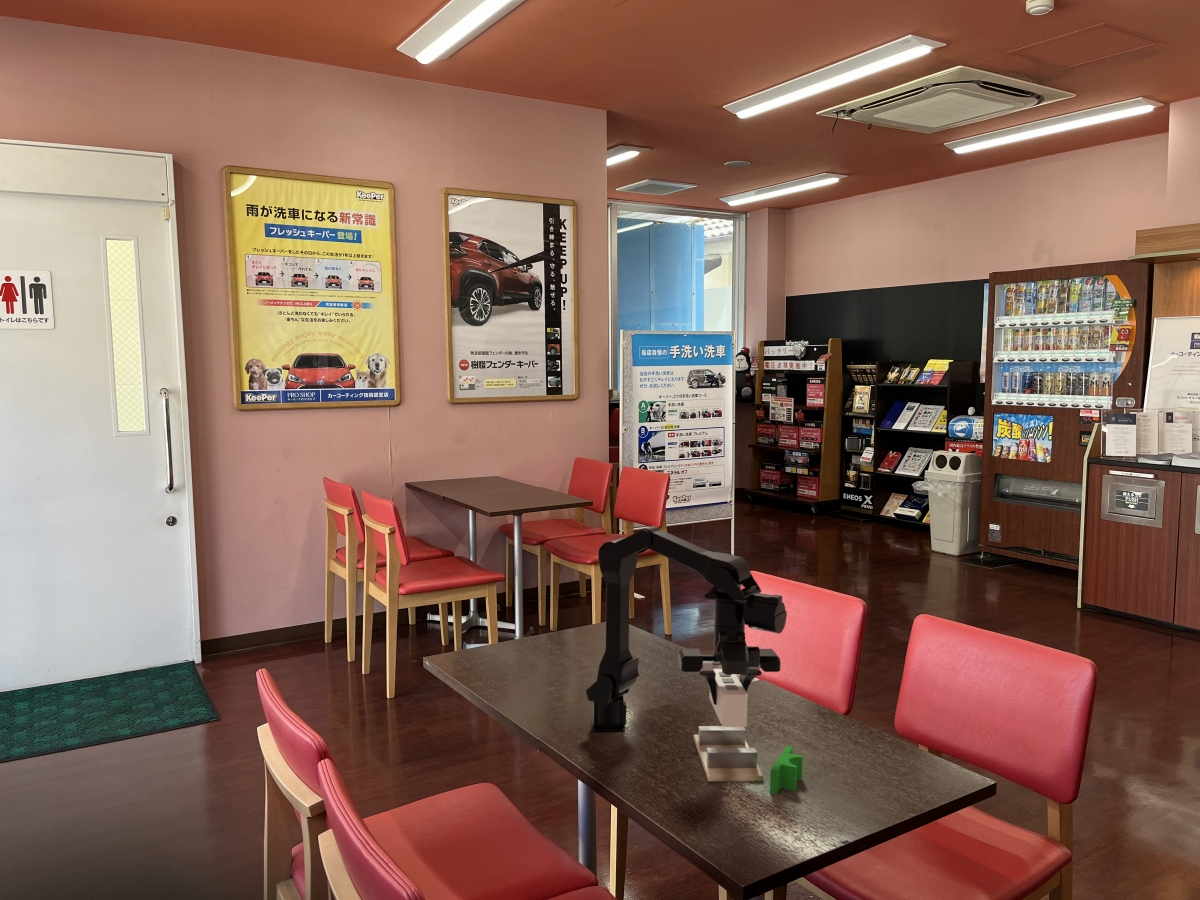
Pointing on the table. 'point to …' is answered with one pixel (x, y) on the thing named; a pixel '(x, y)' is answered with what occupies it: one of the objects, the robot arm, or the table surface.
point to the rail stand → (727, 754)
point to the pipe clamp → (786, 771)
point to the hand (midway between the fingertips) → (727, 703)
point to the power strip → (730, 700)
